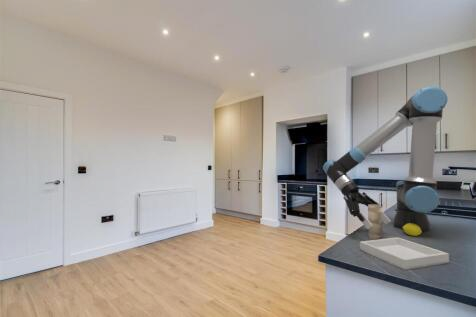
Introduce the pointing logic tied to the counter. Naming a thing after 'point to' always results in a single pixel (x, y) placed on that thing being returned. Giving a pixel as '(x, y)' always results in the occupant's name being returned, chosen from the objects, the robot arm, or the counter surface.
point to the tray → (404, 253)
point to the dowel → (375, 221)
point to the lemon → (412, 229)
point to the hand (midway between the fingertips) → (379, 225)
